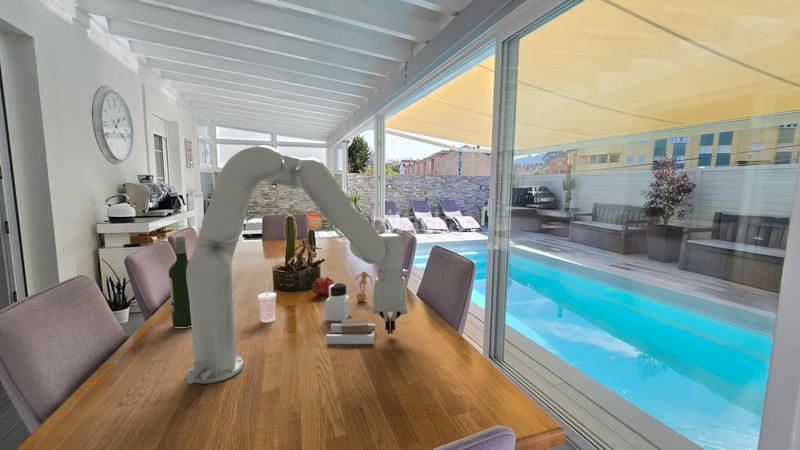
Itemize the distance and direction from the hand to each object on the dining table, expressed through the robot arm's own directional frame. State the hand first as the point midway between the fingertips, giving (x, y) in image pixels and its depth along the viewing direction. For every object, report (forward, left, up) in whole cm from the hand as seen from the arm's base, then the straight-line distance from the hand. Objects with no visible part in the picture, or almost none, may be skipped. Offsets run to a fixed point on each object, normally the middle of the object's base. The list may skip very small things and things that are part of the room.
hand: (390, 331), depth 111 cm
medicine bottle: (+16, +19, -2) cm, 25 cm away
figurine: (+34, +12, -2) cm, 37 cm away
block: (0, +11, -2) cm, 11 cm away
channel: (0, +12, -2) cm, 12 cm away
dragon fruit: (+42, +29, -2) cm, 51 cm away
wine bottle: (+10, +69, -2) cm, 70 cm away
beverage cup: (+14, +43, -2) cm, 45 cm away
